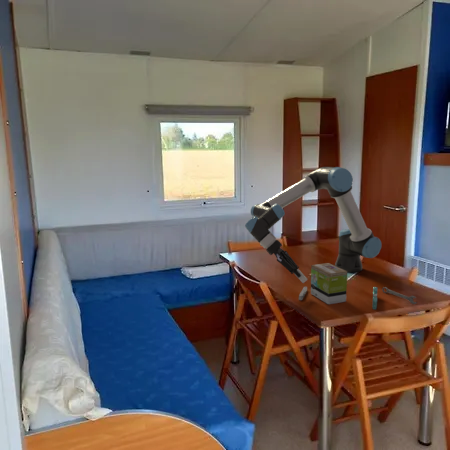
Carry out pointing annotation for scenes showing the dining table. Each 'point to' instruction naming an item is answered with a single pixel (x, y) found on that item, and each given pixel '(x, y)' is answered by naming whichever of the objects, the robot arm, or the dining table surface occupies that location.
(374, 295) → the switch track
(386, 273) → the dining table surface
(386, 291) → the combination wrench
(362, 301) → the dining table surface
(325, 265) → the tea box
